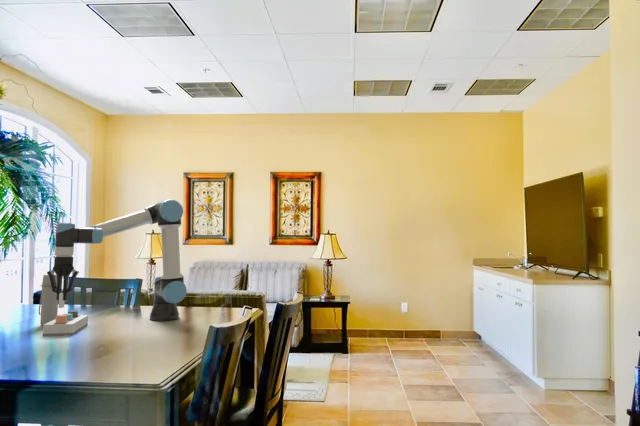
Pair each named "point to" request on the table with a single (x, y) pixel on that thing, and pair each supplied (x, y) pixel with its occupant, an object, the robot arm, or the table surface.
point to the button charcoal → (74, 313)
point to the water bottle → (48, 301)
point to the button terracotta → (61, 319)
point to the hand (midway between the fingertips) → (61, 307)
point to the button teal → (69, 317)
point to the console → (65, 326)
